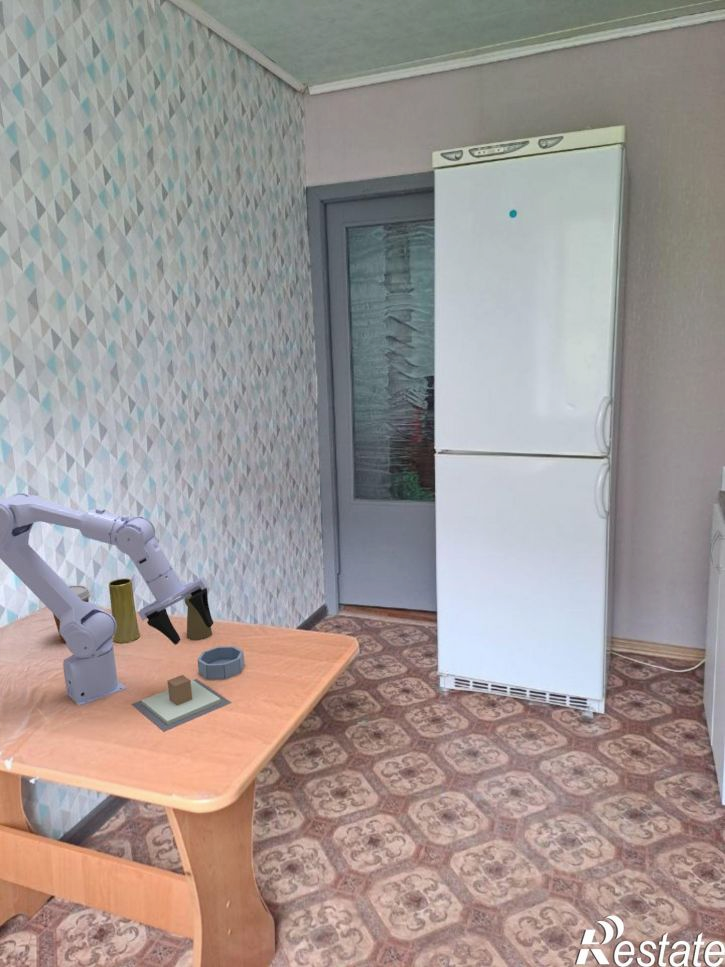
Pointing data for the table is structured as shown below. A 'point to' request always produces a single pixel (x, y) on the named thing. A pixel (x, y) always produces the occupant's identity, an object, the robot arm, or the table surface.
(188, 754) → the table surface
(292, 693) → the table surface
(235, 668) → the bowl
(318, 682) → the table surface
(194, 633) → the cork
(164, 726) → the mat
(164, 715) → the lid
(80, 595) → the disposable coffee cup
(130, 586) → the vase
